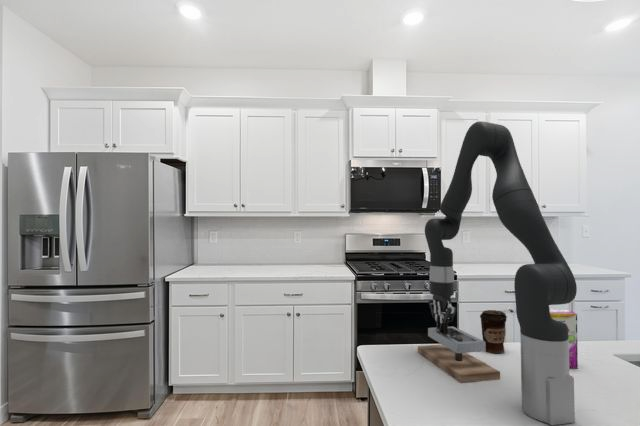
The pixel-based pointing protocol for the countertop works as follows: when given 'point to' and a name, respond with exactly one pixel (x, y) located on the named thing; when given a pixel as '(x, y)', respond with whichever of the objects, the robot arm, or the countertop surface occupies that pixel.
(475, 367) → the board
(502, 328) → the coffee cup
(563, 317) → the candy bar box
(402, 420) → the countertop surface
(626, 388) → the countertop surface
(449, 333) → the grey picture frame
